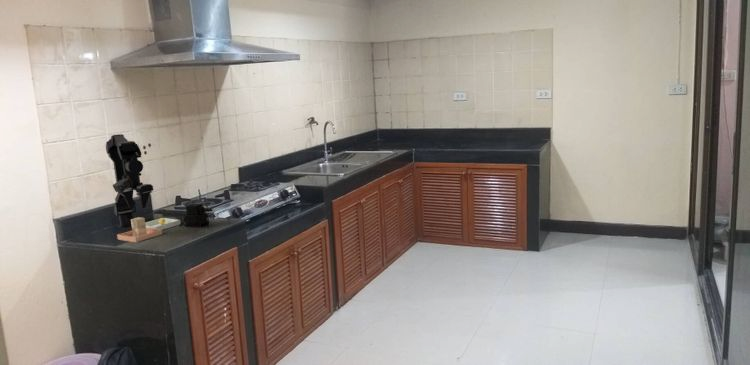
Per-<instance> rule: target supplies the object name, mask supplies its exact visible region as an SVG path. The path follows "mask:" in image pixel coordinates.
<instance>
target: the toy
mask: <svg viewBox="0 0 750 365" xmlns="http://www.w3.org/2000/svg"><path fill="white" fill-rule="evenodd" d="M185 210H186V214H185V215H184V216H183V217H182V218H183V222H184V224H183V226H184V227H186V228H197V229H201V227H202V226H206V227H207V226H208V225H209V224H210V221H208V218H209V215H208V213H207V212H213V208H205V206H203V203H201V204H200V203H191V204H188V205H186V206H185Z"/></svg>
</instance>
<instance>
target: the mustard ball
mask: <svg viewBox="0 0 750 365" xmlns="http://www.w3.org/2000/svg"><path fill="white" fill-rule="evenodd" d="M160 218H161V219H160ZM160 218H158V219H159V224H161V225H163V224H165V222H166V221H165V219H164V218H165V217H160Z"/></svg>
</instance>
